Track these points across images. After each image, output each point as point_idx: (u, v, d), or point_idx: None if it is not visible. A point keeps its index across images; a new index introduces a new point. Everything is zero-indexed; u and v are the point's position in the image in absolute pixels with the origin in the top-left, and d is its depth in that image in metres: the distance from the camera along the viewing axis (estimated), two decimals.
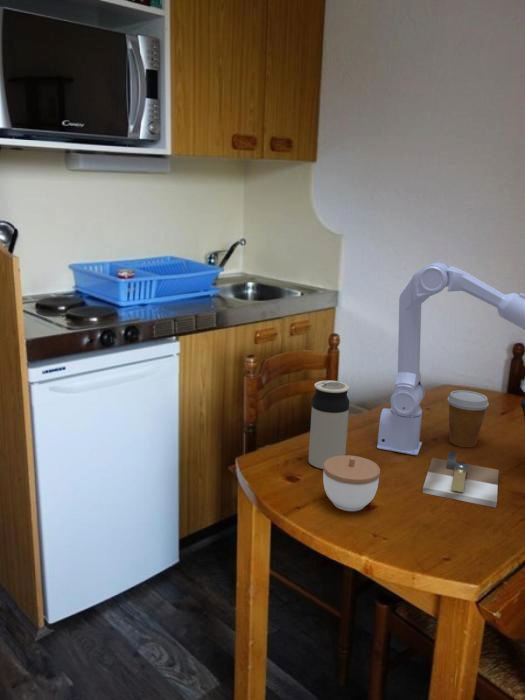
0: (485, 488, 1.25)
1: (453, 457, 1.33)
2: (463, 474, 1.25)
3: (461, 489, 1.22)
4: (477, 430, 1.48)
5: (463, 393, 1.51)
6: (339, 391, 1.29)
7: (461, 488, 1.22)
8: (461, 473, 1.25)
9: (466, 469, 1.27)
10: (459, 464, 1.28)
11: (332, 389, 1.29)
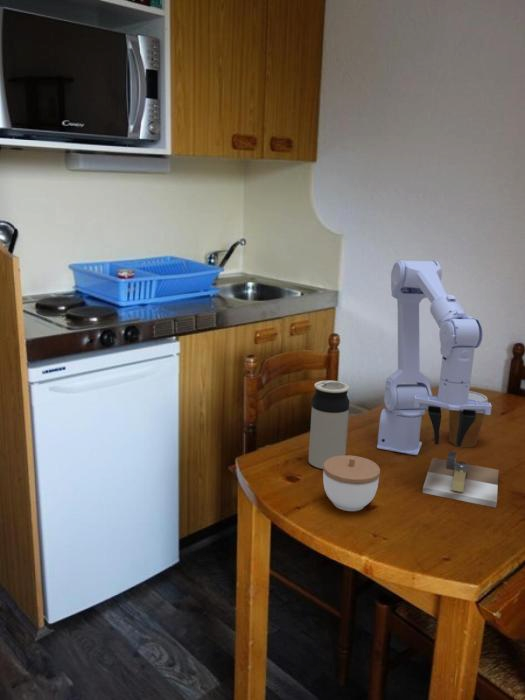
0: (485, 488, 1.25)
1: (453, 457, 1.33)
2: (463, 474, 1.25)
3: (461, 489, 1.22)
4: (477, 430, 1.48)
5: None
6: (339, 391, 1.29)
7: (461, 488, 1.22)
8: (461, 473, 1.25)
9: (466, 469, 1.27)
10: (459, 464, 1.28)
11: (332, 389, 1.29)
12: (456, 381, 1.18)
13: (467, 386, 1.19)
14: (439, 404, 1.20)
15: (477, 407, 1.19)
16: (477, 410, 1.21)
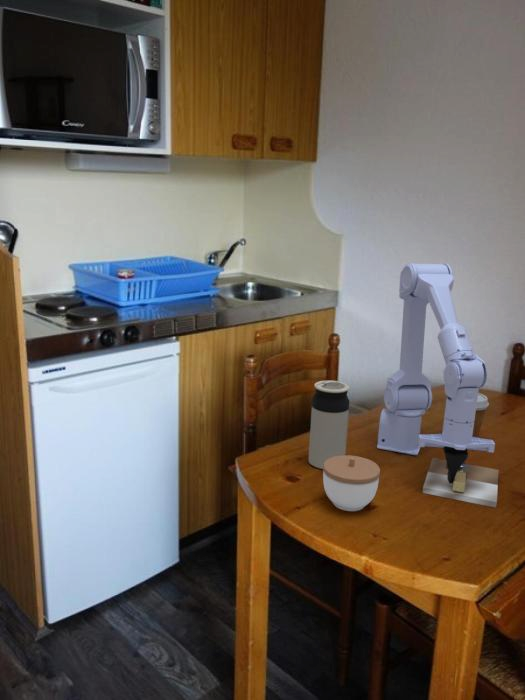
0: (485, 488, 1.25)
1: None
2: (464, 474, 1.25)
3: (462, 489, 1.22)
4: (477, 430, 1.48)
5: None
6: (339, 391, 1.29)
7: (462, 488, 1.22)
8: (461, 473, 1.25)
9: (466, 469, 1.27)
10: None
11: (332, 389, 1.29)
12: (461, 421, 1.19)
13: (472, 425, 1.20)
14: (445, 444, 1.21)
15: (481, 445, 1.21)
16: (480, 448, 1.23)
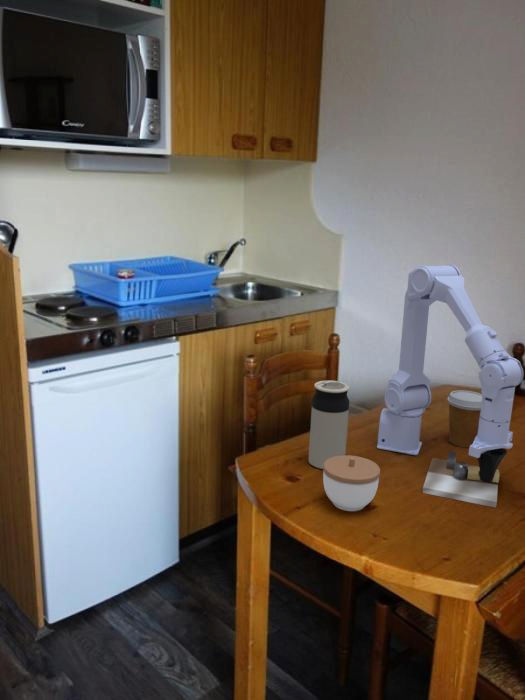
0: (485, 488, 1.25)
1: (453, 457, 1.33)
2: (478, 467, 1.29)
3: None
4: (477, 430, 1.48)
5: (463, 393, 1.51)
6: (339, 391, 1.29)
7: None
8: (476, 468, 1.28)
9: None
10: (463, 465, 1.28)
11: (332, 389, 1.29)
12: (502, 421, 1.20)
13: None
14: (496, 447, 1.21)
15: (509, 437, 1.26)
16: None
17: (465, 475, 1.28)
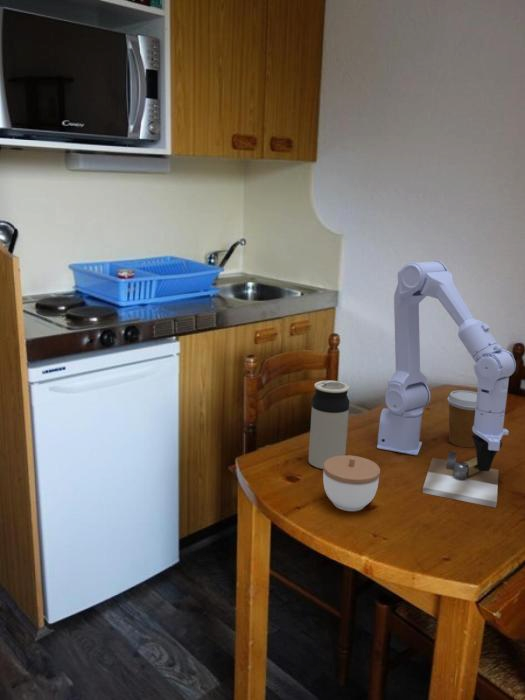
0: (485, 488, 1.25)
1: (453, 457, 1.33)
2: (467, 462, 1.31)
3: None
4: None
5: (463, 393, 1.51)
6: (339, 391, 1.29)
7: None
8: (468, 463, 1.31)
9: None
10: (463, 464, 1.28)
11: (332, 389, 1.29)
12: (499, 411, 1.25)
13: None
14: (502, 435, 1.25)
15: None
16: None
17: (467, 473, 1.29)
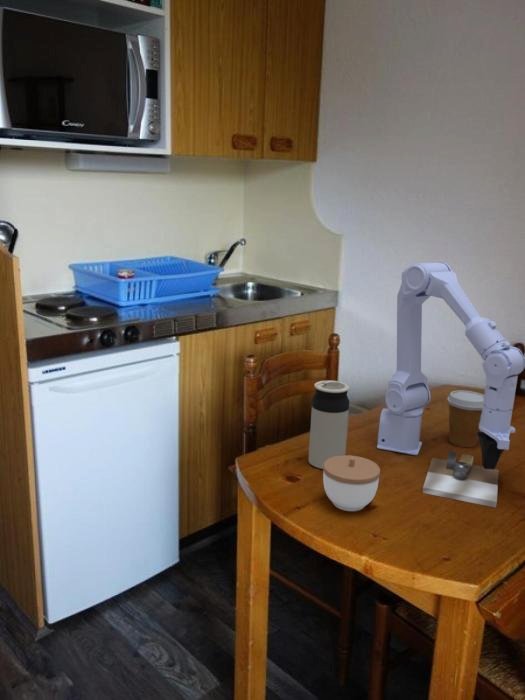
0: (485, 488, 1.25)
1: (453, 457, 1.33)
2: (461, 460, 1.32)
3: None
4: (477, 430, 1.48)
5: (463, 393, 1.51)
6: (339, 391, 1.29)
7: None
8: (462, 461, 1.31)
9: None
10: (463, 464, 1.28)
11: (332, 389, 1.29)
12: (507, 409, 1.23)
13: None
14: (509, 433, 1.24)
15: None
16: None
17: None
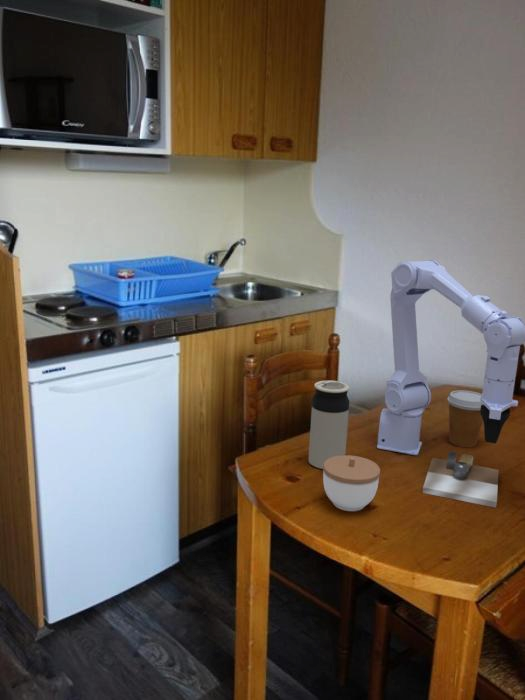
0: (485, 488, 1.25)
1: (453, 457, 1.33)
2: (461, 460, 1.32)
3: None
4: (477, 430, 1.48)
5: (463, 393, 1.51)
6: (339, 391, 1.29)
7: None
8: (462, 461, 1.31)
9: None
10: (463, 464, 1.28)
11: (332, 389, 1.29)
12: (508, 380, 1.20)
13: None
14: (508, 406, 1.21)
15: None
16: None
17: None
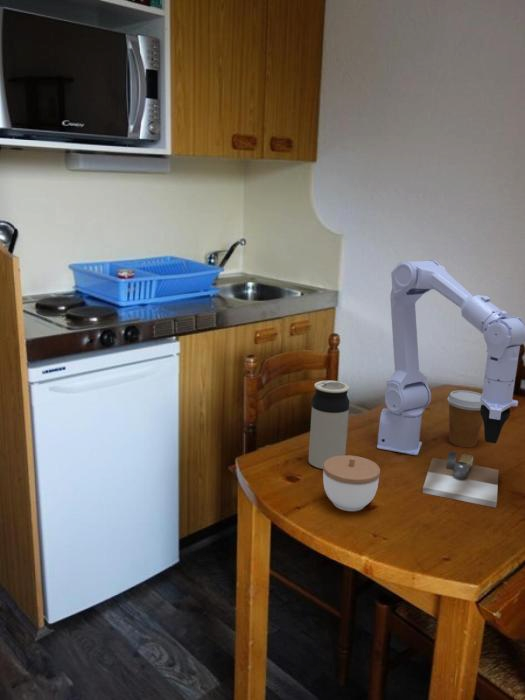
0: (485, 488, 1.25)
1: (453, 457, 1.33)
2: (461, 460, 1.32)
3: None
4: (477, 430, 1.48)
5: (463, 393, 1.51)
6: (339, 391, 1.29)
7: None
8: (462, 461, 1.31)
9: None
10: (463, 464, 1.28)
11: (332, 389, 1.29)
12: (508, 380, 1.20)
13: None
14: (508, 406, 1.21)
15: None
16: None
17: None
